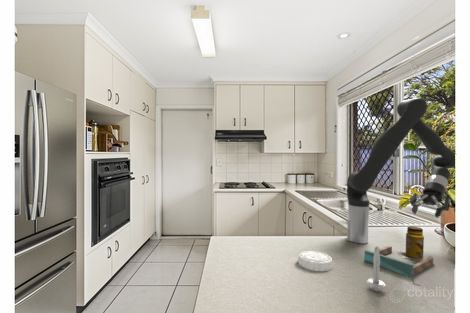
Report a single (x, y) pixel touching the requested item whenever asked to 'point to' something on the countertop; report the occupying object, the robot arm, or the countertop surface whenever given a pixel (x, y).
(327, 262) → the mooncake
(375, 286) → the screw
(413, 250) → the condiment
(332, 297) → the countertop surface
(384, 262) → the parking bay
